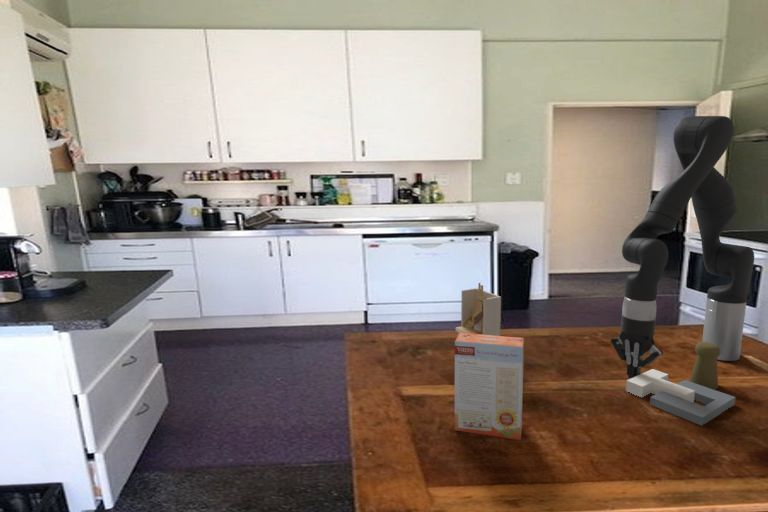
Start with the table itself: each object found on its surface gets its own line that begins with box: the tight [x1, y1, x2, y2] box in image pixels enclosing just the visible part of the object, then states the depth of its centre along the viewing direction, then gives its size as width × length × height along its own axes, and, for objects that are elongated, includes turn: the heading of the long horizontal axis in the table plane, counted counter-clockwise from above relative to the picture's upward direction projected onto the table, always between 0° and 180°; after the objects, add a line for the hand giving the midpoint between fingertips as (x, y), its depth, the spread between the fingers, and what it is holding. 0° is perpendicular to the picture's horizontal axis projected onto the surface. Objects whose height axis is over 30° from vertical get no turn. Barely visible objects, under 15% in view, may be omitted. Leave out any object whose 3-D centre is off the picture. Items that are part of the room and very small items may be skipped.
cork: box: [689, 341, 720, 390], centre depth 116 cm, size 6×6×11 cm
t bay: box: [649, 379, 736, 427], centre depth 106 cm, size 11×16×2 cm
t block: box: [625, 368, 695, 403], centre depth 112 cm, size 12×12×3 cm
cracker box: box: [454, 332, 525, 441], centre depth 97 cm, size 14×6×21 cm, turn 71°
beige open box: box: [455, 282, 502, 336], centre depth 130 cm, size 8×12×26 cm
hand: (633, 378), depth 118 cm, fingers closed
